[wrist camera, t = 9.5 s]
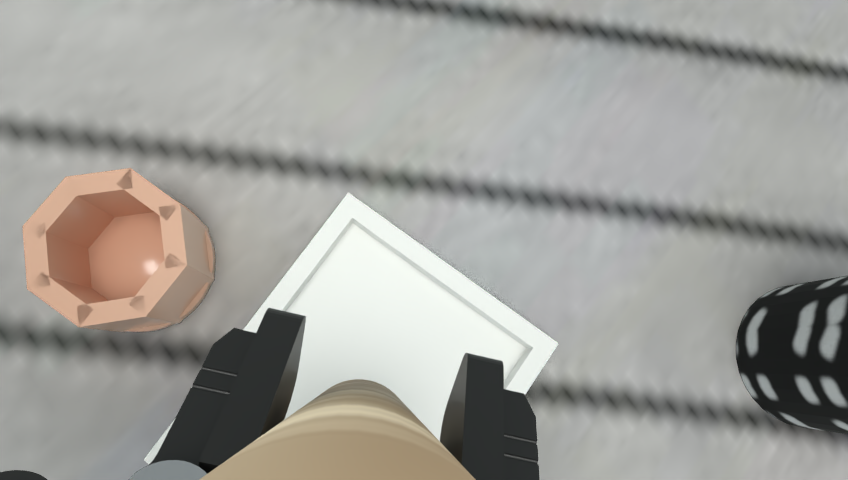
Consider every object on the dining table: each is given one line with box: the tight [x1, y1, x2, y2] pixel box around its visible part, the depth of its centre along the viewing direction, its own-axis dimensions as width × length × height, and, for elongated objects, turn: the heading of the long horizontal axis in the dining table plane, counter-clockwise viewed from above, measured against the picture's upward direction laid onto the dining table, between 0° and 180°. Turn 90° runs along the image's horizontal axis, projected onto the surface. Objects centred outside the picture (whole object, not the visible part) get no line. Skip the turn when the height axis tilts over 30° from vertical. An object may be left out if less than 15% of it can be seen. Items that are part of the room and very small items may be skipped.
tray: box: [144, 193, 559, 464], centre depth 36 cm, size 14×17×2 cm
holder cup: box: [22, 168, 216, 332], centre depth 35 cm, size 8×8×6 cm
